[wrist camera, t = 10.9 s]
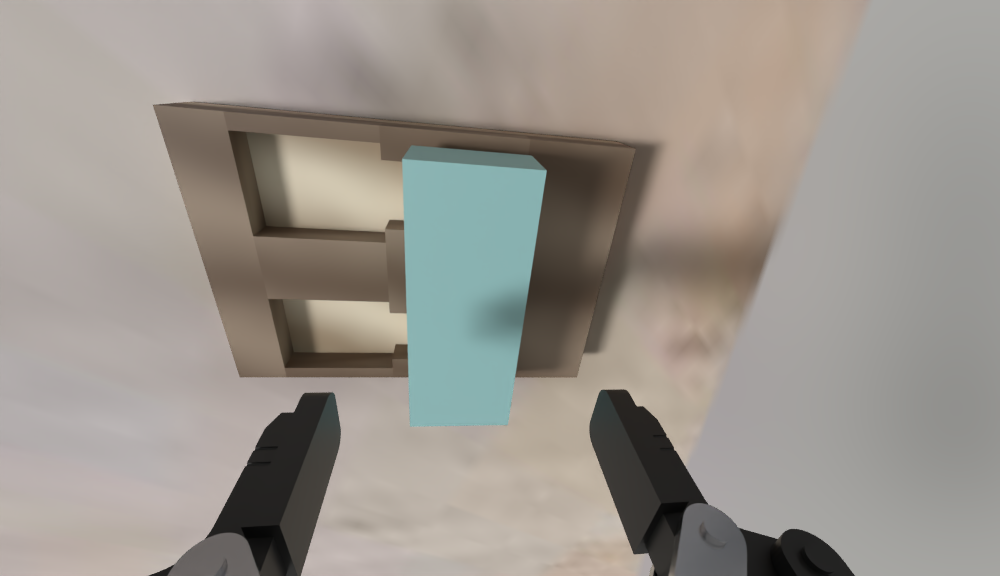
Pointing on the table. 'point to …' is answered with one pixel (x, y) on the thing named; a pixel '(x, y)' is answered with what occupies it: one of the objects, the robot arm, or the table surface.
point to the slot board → (368, 234)
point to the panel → (467, 279)
